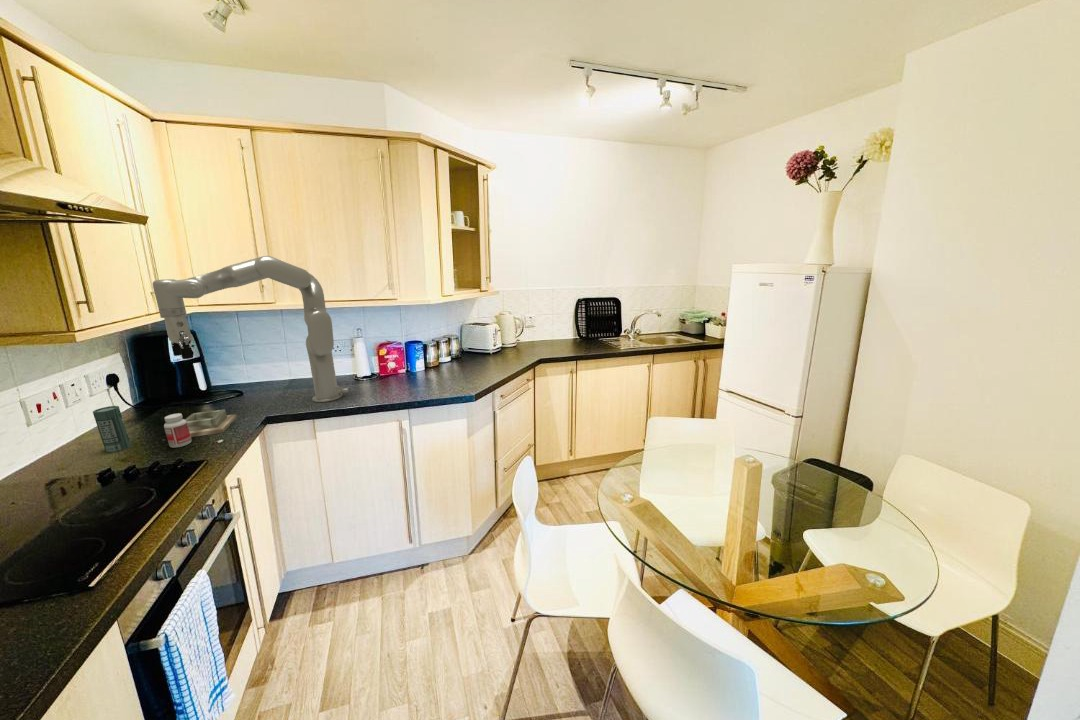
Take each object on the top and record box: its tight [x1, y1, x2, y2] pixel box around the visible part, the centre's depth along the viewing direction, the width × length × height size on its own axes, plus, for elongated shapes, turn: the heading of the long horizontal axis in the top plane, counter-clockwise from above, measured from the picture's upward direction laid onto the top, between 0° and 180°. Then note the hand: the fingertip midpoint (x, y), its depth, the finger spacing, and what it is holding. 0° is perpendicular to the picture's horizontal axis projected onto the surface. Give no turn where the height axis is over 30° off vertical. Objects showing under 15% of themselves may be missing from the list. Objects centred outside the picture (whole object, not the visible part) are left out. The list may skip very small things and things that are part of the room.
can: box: [92, 405, 132, 454], centre depth 143 cm, size 6×6×15 cm
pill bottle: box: [163, 412, 192, 449], centre depth 146 cm, size 6×6×11 cm
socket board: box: [184, 408, 238, 438], centre depth 160 cm, size 16×16×5 cm
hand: (183, 356), depth 158 cm, fingers open, 9 cm apart
